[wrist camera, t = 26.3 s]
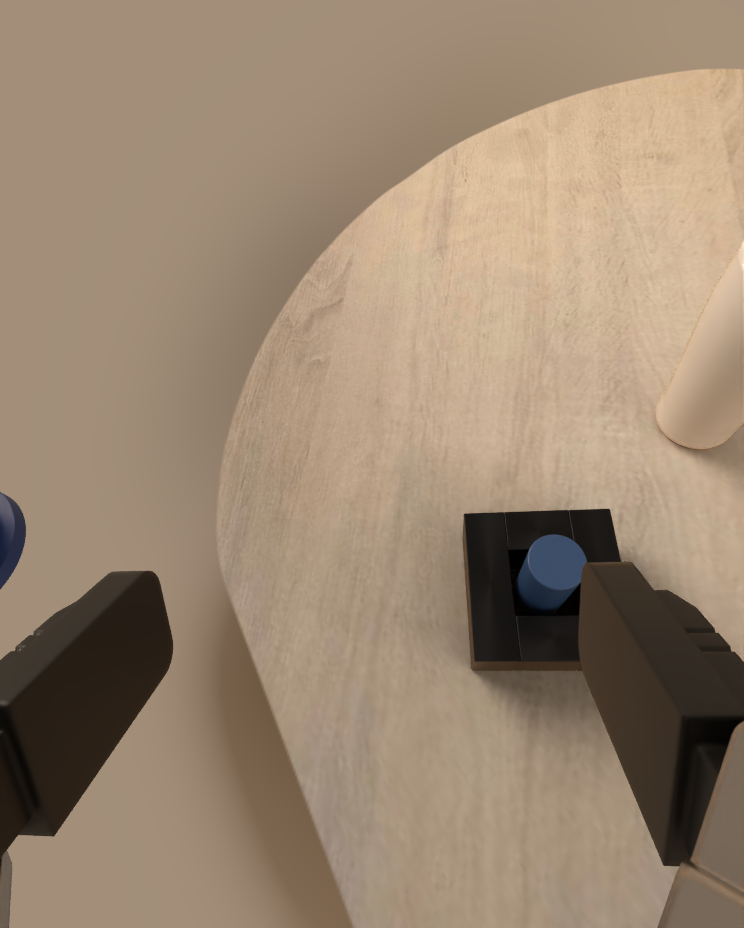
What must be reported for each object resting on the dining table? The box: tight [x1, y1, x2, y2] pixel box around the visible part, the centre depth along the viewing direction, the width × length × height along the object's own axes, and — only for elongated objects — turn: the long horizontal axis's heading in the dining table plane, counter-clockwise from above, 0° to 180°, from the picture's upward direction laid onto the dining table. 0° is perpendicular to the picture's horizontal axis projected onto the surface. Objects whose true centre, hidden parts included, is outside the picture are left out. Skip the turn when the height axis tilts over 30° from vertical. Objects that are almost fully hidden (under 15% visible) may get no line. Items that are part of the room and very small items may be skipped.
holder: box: [463, 509, 621, 671], centre depth 33 cm, size 9×9×4 cm
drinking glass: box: [655, 241, 744, 449], centre depth 32 cm, size 7×7×15 cm
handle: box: [512, 535, 587, 616], centre depth 31 cm, size 3×3×8 cm
